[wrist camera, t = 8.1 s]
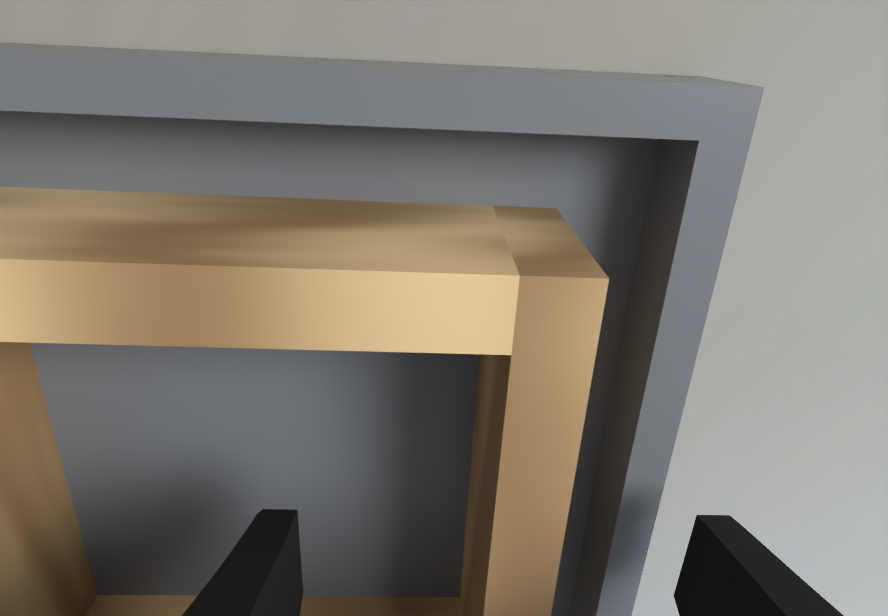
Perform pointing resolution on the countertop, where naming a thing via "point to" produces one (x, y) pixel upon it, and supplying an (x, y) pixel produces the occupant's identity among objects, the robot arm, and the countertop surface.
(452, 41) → the countertop surface
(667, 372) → the tray
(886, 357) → the countertop surface
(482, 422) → the wooden frame
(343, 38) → the countertop surface
